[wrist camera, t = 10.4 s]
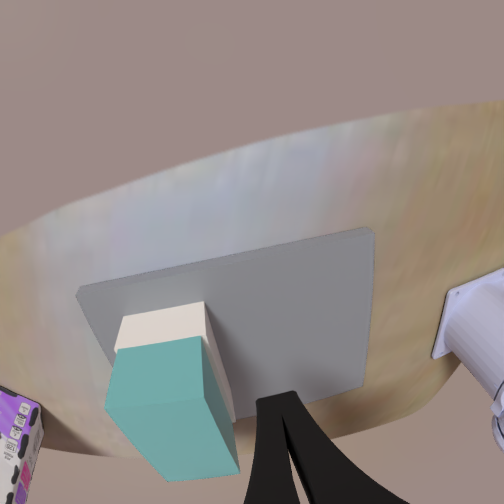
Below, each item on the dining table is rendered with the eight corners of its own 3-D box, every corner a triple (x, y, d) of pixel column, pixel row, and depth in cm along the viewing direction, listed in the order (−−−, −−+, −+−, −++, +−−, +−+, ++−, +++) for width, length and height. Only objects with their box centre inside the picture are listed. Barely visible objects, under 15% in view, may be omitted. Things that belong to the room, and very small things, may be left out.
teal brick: (200, 335, 15) (204, 397, 11) (232, 422, 18) (240, 473, 15) (117, 349, 15) (104, 408, 11) (167, 432, 18) (167, 481, 15)
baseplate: (366, 226, 19) (401, 253, 15) (358, 378, 25) (376, 411, 21) (80, 286, 17) (58, 325, 14) (154, 421, 23) (152, 459, 20)
